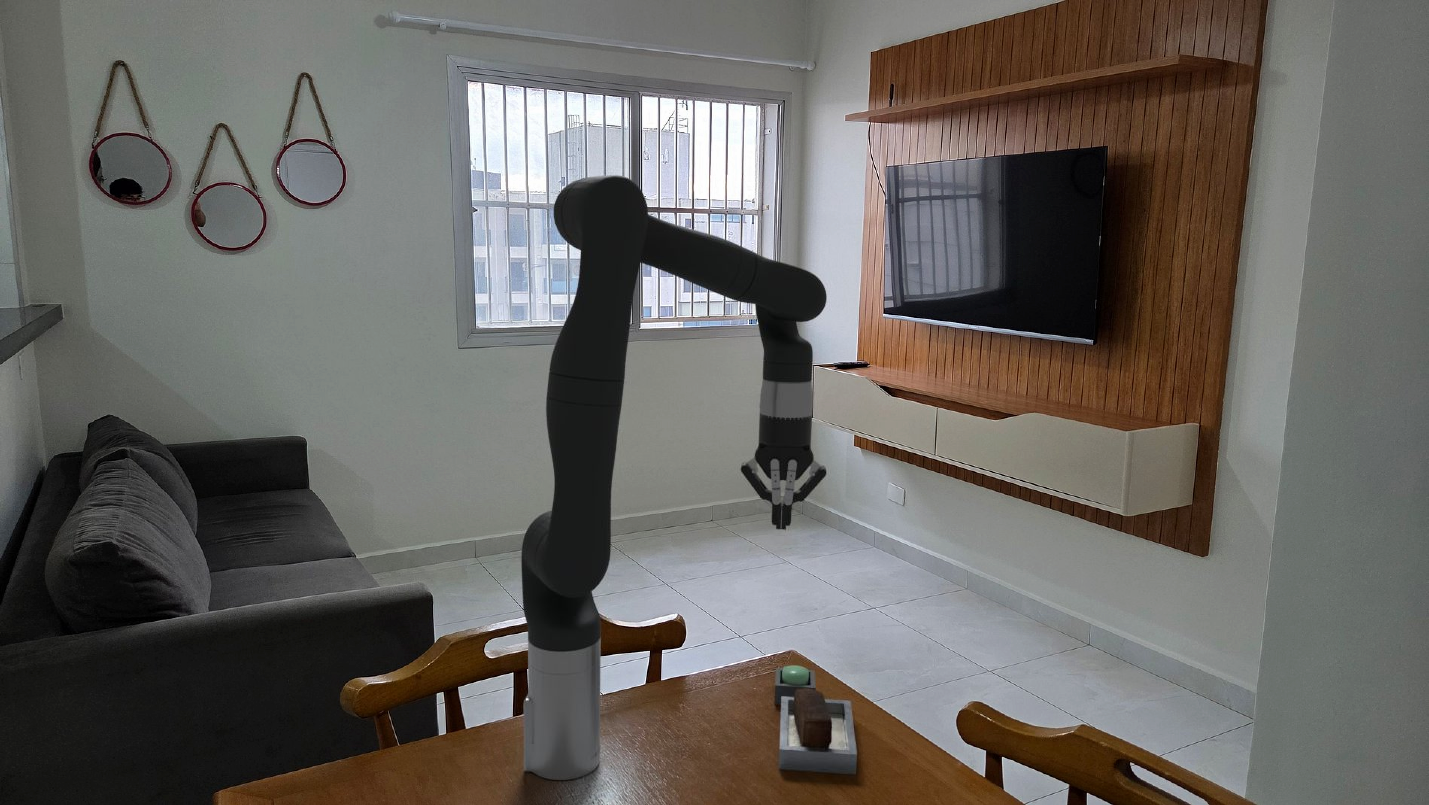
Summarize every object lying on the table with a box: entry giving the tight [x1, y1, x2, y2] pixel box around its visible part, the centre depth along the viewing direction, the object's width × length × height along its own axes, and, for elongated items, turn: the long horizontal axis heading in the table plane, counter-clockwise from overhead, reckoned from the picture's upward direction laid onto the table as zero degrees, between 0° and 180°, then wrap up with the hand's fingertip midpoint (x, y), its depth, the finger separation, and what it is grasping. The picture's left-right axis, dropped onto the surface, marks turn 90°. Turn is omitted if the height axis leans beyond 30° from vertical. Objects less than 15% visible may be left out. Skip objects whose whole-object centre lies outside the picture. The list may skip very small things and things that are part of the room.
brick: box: [793, 688, 832, 749], centre depth 130 cm, size 11×4×5 cm, turn 2°
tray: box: [778, 696, 858, 776], centre depth 130 cm, size 10×15×3 cm, turn 175°
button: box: [782, 664, 809, 685], centre depth 143 cm, size 4×4×2 cm
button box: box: [774, 667, 817, 706], centre depth 144 cm, size 6×6×3 cm
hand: (781, 527), depth 138 cm, fingers closed
